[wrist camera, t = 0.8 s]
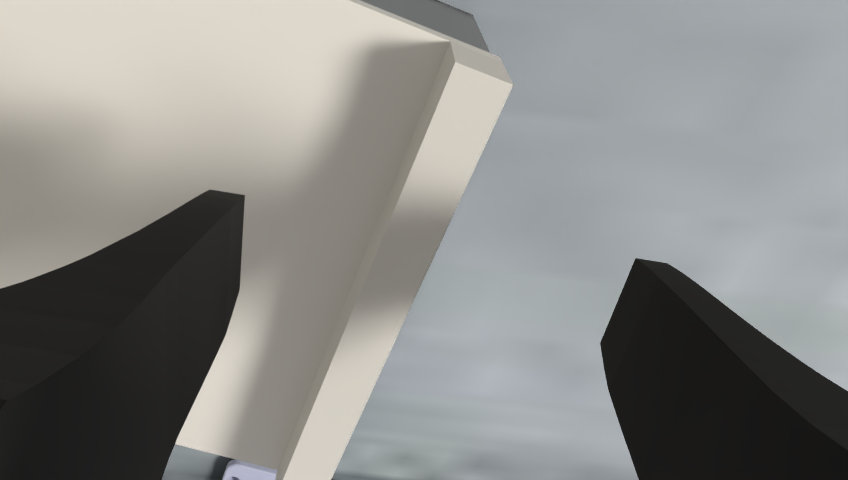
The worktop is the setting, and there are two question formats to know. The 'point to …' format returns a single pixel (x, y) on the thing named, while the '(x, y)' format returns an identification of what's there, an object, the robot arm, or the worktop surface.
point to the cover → (250, 181)
